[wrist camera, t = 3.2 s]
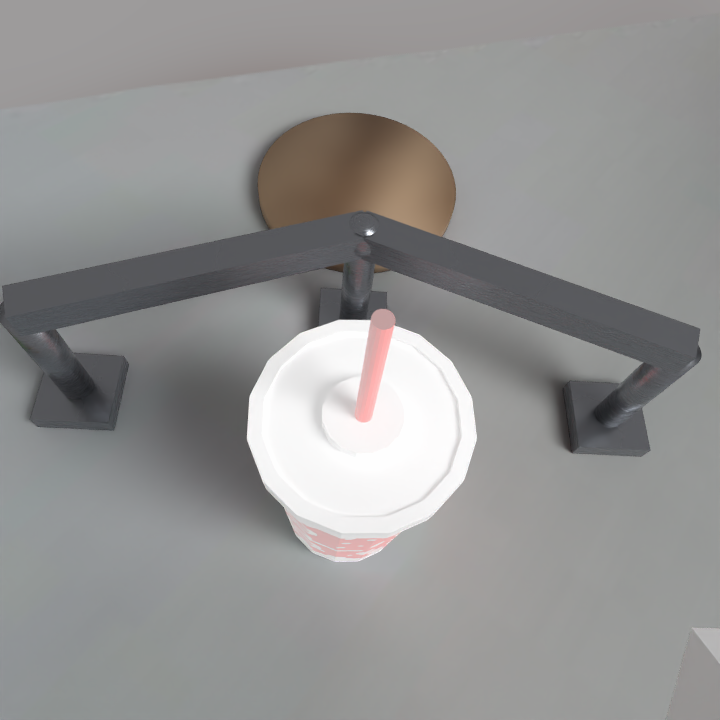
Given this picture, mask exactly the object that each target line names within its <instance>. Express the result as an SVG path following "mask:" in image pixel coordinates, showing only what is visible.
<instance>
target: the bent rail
mask: <svg viewBox="0 0 720 720" xmlns="http://www.w3.org/2000/svg"><path fill="white" fill-rule="evenodd" d="M342 263H344V268H343V280H342V289H328V288H321V295H320V310H319V325H318V327H319V326H322V325H325V324H328V323H331V322H334V321H337V320H371V316H372V314H373V313H374V312H375V311H376V310H379V309H387V292H376V291H371V288H372V281H373V275H374V269H375V264H376V265H379V266H382V267H384V268H387V269H390V270H392V271H395V272H398V273H401V274H403V275H406V276H409V277H412V278H414V279H417V280H420V281H423V282H425V283H428V284H431V285H434V286H436V287H439V288H442V289H445V290H447V291H450V292H453V293H455V294H458V295H461V296H464V297H466V298H469V299H472V300H475V301H477V302H480V303H483V304H486V305H488V306H491V307H494V308H497V309H499V310H502V311H505V312H508V313H510V314H513V315H516V316H518V317H521V318H524V319H527V320H529V321H532V322H535V323H538V324H540V325H543V326H546V327H549V328H551V329H554V330H557V331H560V332H562V333H565V334H568V335H571V336H573V337H576V338H579V339H581V340H584V341H587V342H590V343H592V344H595V345H598V346H601V347H603V348H606V349H609V350H612V351H614V352H617V353H620V354H623V355H625V356H628V357H631V358H634V359H636V360H639V361H642V362H643V363H642V364H641V365H640V366H639V367H638V368H637V369H636V370H635V371H634V372H633V373H632V374H631V375H630V376H628V377H627V378H626V379H625V380H624V381H623V382H622V383H621V384H616V383H599V382H581V381H569V382H568V383H567V385H566V386H565V387H564V388H563V392H564V400H565V407H566V414H567V421H568V428H569V435H570V442H571V449H572V453H579V454H600V455H620V456H640V457H641V456H643V455H644V454H646V453H647V452H649V451H650V446H649V441H648V436H647V431H646V426H645V421H644V416H643V411H642V407H644V406H645V405H646V404H647V403H649V402H650V401H651V400H652V399H654V398H655V397H656V396H657V395H659V394H660V393H661V392H662V391H664V390H665V389H666V388H667V387H669V386H670V385H671V384H672V383H674V382H675V381H676V380H677V379H679V378H680V377H681V376H682V375H684V374H685V373H686V372H687V371H689V370H690V369H691V368H692V367H694V366H695V365H696V364H697V363H698V362H699V361H700V359H701V350H700V347H699V346H698V341H699V334H700V329H699V328H696V327H694V326H691V325H688V324H685V323H682V322H680V321H677V320H674V319H671V318H668V317H666V316H663V315H660V314H657V313H654V312H651V311H649V310H646V309H643V308H640V307H637V306H635V305H632V304H629V303H626V302H623V301H621V300H618V299H615V298H612V297H609V296H606V295H604V294H601V293H598V292H595V291H592V290H590V289H587V288H584V287H581V286H578V285H575V284H573V283H570V282H567V281H564V280H561V279H559V278H556V277H553V276H550V275H547V274H545V273H542V272H539V271H536V270H533V269H530V268H528V267H525V266H522V265H519V264H516V263H514V262H511V261H508V260H505V259H502V258H500V257H497V256H494V255H491V254H488V253H485V252H483V251H480V250H477V249H474V248H471V247H469V246H466V245H463V244H460V243H457V242H455V241H452V240H449V239H446V238H443V237H440V236H438V235H435V234H432V233H429V232H426V231H424V230H421V229H418V228H415V227H412V226H409V225H407V224H404V223H401V222H398V221H395V220H393V219H390V218H387V217H384V216H381V215H379V214H376V213H373V212H370V211H366V212H364V211H363V210H361V211H356V212H351V213H346V214H342V215H337V216H332V217H327V218H323V219H318V220H313V221H308V222H304V223H299V224H294V225H289V226H285V227H280V228H275V229H270V230H266V231H261V232H256V233H252V234H247V235H242V236H237V237H233V238H228V239H223V240H218V241H214V242H209V243H204V244H199V245H195V246H190V247H185V248H180V249H176V250H171V251H166V252H161V253H157V254H152V255H147V256H142V257H138V258H133V259H128V260H123V261H119V262H114V263H109V264H104V265H100V266H95V267H90V268H85V269H81V270H76V271H71V272H66V273H62V274H57V275H52V276H47V277H43V278H38V279H33V280H29V281H24V282H19V283H14V284H10V285H5V286H2V288H3V299H4V301H3V302H2V303H1V305H0V322H1V324H2V325H3V326H4V327H5V328H6V329H7V330H8V332H9V333H10V334H11V335H12V336H13V337H14V338H15V339H16V341H17V342H18V343H19V344H20V345H21V346H22V347H23V349H24V350H25V351H26V352H27V353H28V354H29V355H30V357H31V358H32V359H33V360H34V361H35V362H36V363H37V364H38V366H39V367H40V368H41V369H42V370H43V371H44V374H43V377H42V380H41V384H40V387H39V390H38V394H37V397H36V401H35V404H34V407H33V411H32V414H31V418H30V420H31V421H32V422H33V423H35V424H36V425H37V426H38V427H55V428H75V429H95V430H114V428H115V423H116V419H117V414H118V410H119V405H120V401H121V397H122V392H123V388H124V383H125V379H126V374H127V370H128V366H129V364H128V362H127V361H126V359H125V357H124V356H116V355H98V354H80V353H73V352H72V351H71V349H70V348H69V347H68V345H67V344H66V343H65V341H64V340H63V339H62V337H61V336H60V334H59V333H58V332H57V330H56V329H58V328H62V327H66V326H71V325H75V324H80V323H84V322H88V321H93V320H97V319H101V318H106V317H110V316H115V315H119V314H123V313H128V312H132V311H137V310H141V309H145V308H150V307H154V306H158V305H163V304H167V303H172V302H176V301H180V300H185V299H189V298H193V297H198V296H202V295H207V294H211V293H215V292H220V291H224V290H228V289H233V288H237V287H242V286H246V285H250V284H255V283H259V282H263V281H268V280H272V279H277V278H281V277H285V276H290V275H294V274H299V273H303V272H307V271H312V270H316V269H320V268H325V267H329V266H334V265H338V264H342Z"/></svg>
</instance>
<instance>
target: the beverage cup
mask: <svg viewBox="0 0 720 720" xmlns="http://www.w3.org/2000/svg"><path fill="white" fill-rule="evenodd" d="M476 440H477V436H476V427H475V419H474V411H473V402H472V397H471V395H470V393H469V391H468V390H467V388H466V386H465V384H464V382H463V381H462V379H461V377H460V375H459V374H458V372H457V370H456V368H455V367H454V365H453V363H452V361H451V360H449V359H448V358H447V357H446V356H445V355H443V354H442V353H441V352H440V351H439V350H437V349H436V348H435V347H434V346H433V345H431V344H430V343H429V342H428V341H427V340H425V339H424V338H423V337H422V336H421V335H419V334H416V333H414V332H411V331H408V330H406V329H403V328H400V327H397V326H395V316H394V314H393V313H392V312H391V311H389V310H387V309H379V310H376V311H375V312H374V313H373V314H372V316H371V320H337V321H334V322H331V323H328V324H325V325H322V326H319V327H316V328H313V329H311V330H308V331H305V332H302V333H300V334H298V335H297V336H296V337H295V338H294V339H292V340H291V341H290V342H289V343H288V344H286V345H285V346H284V347H283V348H282V349H280V350H279V351H278V352H277V353H276V354H274V355H273V356H272V357H271V358H270V359H269V360H268V362H267V364H266V365H265V367H264V369H263V371H262V373H261V375H260V377H259V379H258V381H257V383H256V385H255V387H254V388H253V390H252V392H251V394H250V396H249V412H248V429H247V441H248V444H249V447H250V450H251V452H252V455H253V457H254V460H255V463H256V465H257V468H258V471H259V473H260V476H261V479H262V481H263V484H264V485H265V488H266V490H267V491H268V492H269V493H270V494H271V495H272V496H273V497H274V498H275V499H276V500H277V501H278V502H279V503H280V504H281V505H282V506H283V507H284V509H285V511H286V513H287V516H288V518H289V521H290V523H291V525H292V528H293V530H294V532H295V535H296V536H297V537H298V538H299V539H300V540H301V541H302V542H303V544H304V545H305V546H306V547H307V548H308V549H309V550H310V551H311V552H312V553H314V554H317V555H319V556H322V557H324V558H326V559H329V560H331V561H334V562H351V561H360V560H362V559H364V558H367V557H369V556H371V555H373V554H375V553H378V552H380V551H381V550H382V549H383V548H384V547H385V546H386V545H387V544H388V543H389V542H390V541H392V540H393V539H394V538H395V537H396V536H397V535H398V534H399V533H400V532H402V531H404V530H406V529H408V528H411V527H413V526H415V525H417V524H419V523H422V522H424V521H426V520H428V519H429V518H430V517H431V516H433V515H434V514H435V512H436V511H437V510H438V509H439V508H440V507H441V506H442V505H443V503H444V502H445V501H446V500H447V499H448V498H449V497H450V496H451V495H452V493H453V492H454V491H455V490H456V489H457V488H458V487H459V486H460V484H461V483H462V482H463V481H464V479H465V476H466V473H467V469H468V466H469V463H470V460H471V456H472V453H473V450H474V447H475V443H476Z"/></svg>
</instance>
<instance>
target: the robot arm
mask: <svg viewBox="0 0 720 720" xmlns="http://www.w3.org/2000/svg"><path fill="white" fill-rule="evenodd" d="M666 720H720V628H691V631H690V634H689V638H688V642H687V645H686V649H685V652H684V656H683V660H682V663H681V667H680V670H679V674H678V678H677V681H676V685H675V689H674V692H673V696H672V699H671V703H670V707H669V710H668V714H667V717H666Z"/></svg>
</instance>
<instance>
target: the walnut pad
mask: <svg viewBox="0 0 720 720" xmlns="http://www.w3.org/2000/svg"><path fill="white" fill-rule="evenodd" d="M258 193H259V201H260V208H261V211H262V214H263V217H264V219H265V221H266V223H267V225H268V227H269V228H270V229H275V228H280V227H285V226H289V225H294V224H299V223H304V222H308V221H313V220H318V219H323V218H327V217H332V216H337V215H342V214H346V213H351V212H356V211H361V210H363V211H364V212H366V211H370V212H373V213H376V214H379V215H381V216H384V217H387V218H390V219H393V220H395V221H398V222H401V223H404V224H407V225H409V226H412V227H415V228H418V229H421V230H424V231H426V232H429V233H432V234H435V235H438V236H440V237H442V236H443V235H444V233H445V231H446V229H447V227H448V225H449V222H450V219H451V216H452V213H453V210H454V205H455V200H456V188H455V181H454V177H453V174H452V171H451V169H450V167H449V165H448V163H447V161H446V159H445V158H444V156H443V155H442V154H441V152H440V151H439V150H438V149H437V148H436V147H435V146H434V145H433V144H432V143H431V142H430V141H429V140H428V139H427V138H425V137H424V136H423V135H421V134H420V133H418V132H417V131H415V130H413V129H412V128H410V127H408V126H406V125H404V124H401V123H399V122H397V121H394V120H391V119H388V118H385V117H380V116H376V115H371V114H363V113H337V114H330V115H324V116H321V117H317V118H313V119H310V120H308V121H305V122H303V123H301V124H299V125H297V126H295V127H293V128H291V129H290V130H288V131H287V132H285V133H284V134H283V135H282V136H281V137H279V138H278V139H277V140H276V141H275V142H274V143H273V145H272V146H271V147H270V148H269V150H268V151H267V153H266V155H265V156H264V158H263V161H262V163H261V165H260V170H259V174H258ZM325 268H326V269H331V270H335V271H339V272H343V268H344V263H342V264H338V265H334V266H329V267H325ZM388 270H390V269H387V268H384V267H382V266H379V265H376V264H375V269H374V273H377V272H384V271H388Z"/></svg>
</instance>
